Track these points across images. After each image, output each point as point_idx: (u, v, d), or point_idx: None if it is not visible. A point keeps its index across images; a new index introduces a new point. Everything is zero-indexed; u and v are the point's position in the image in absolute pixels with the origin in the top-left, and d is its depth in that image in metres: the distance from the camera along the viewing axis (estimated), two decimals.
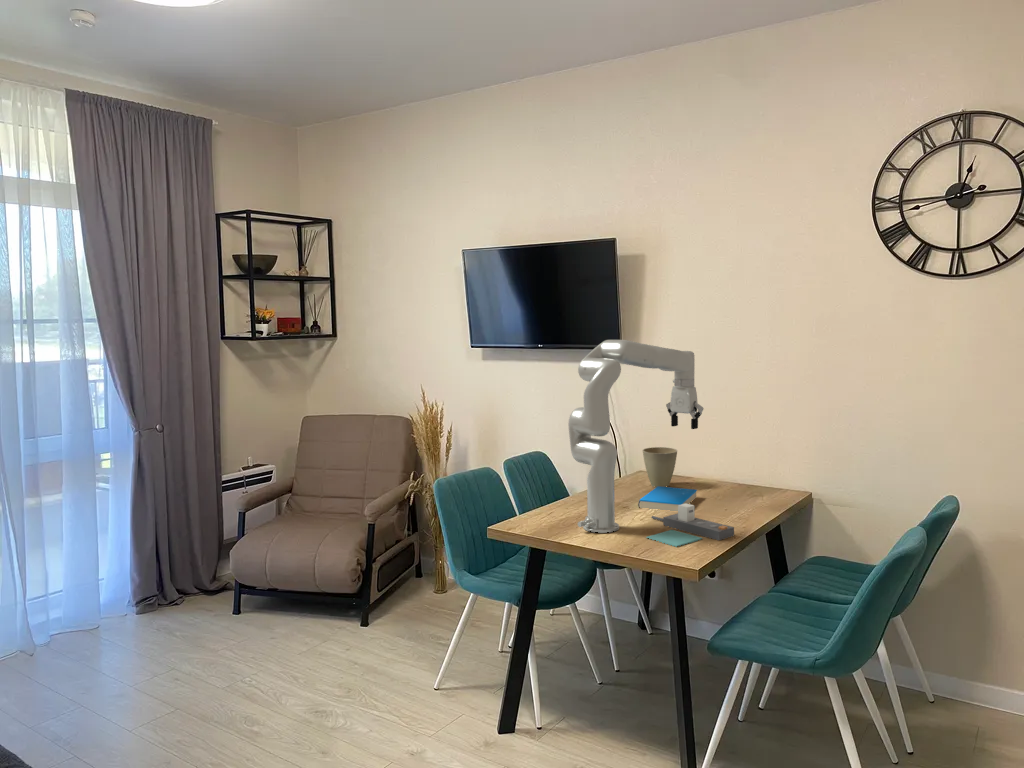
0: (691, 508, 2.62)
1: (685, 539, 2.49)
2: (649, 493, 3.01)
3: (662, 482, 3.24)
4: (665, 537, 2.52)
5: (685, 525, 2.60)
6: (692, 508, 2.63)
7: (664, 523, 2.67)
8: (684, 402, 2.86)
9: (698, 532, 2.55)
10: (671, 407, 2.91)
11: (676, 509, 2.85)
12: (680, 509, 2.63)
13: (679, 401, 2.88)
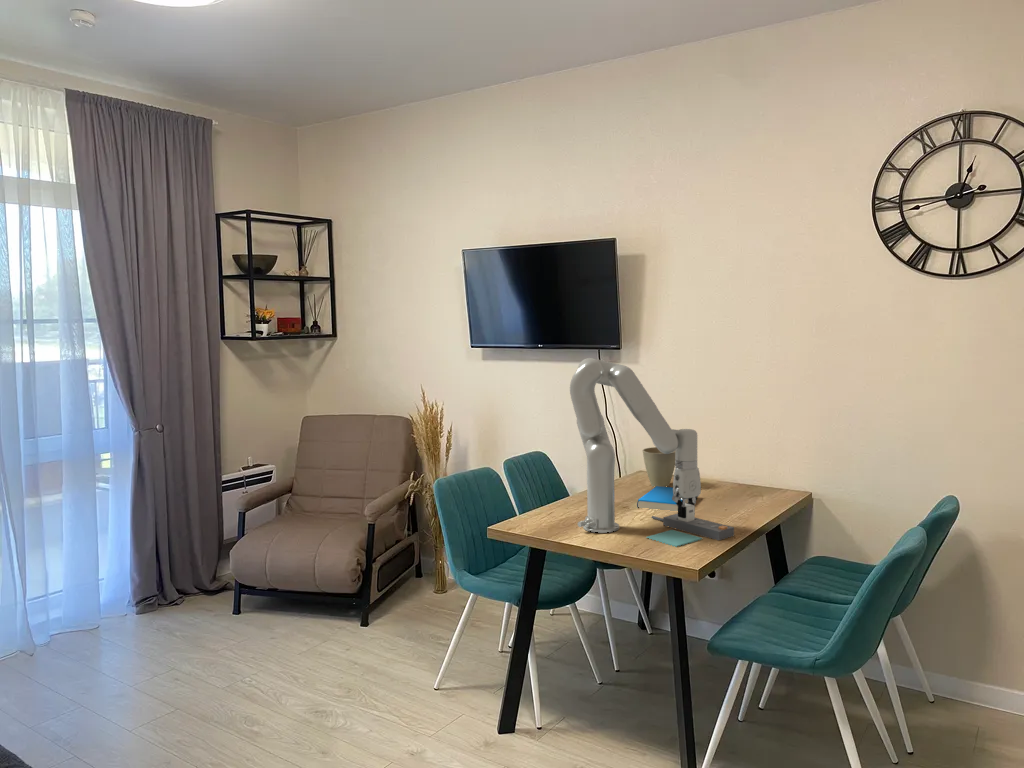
0: (691, 508, 2.62)
1: (685, 539, 2.49)
2: (648, 493, 3.01)
3: (662, 482, 3.24)
4: (665, 537, 2.52)
5: (685, 525, 2.60)
6: (692, 508, 2.63)
7: (664, 523, 2.67)
8: (696, 484, 2.62)
9: (698, 532, 2.55)
10: (684, 494, 2.59)
11: (675, 509, 2.85)
12: None
13: (692, 485, 2.61)
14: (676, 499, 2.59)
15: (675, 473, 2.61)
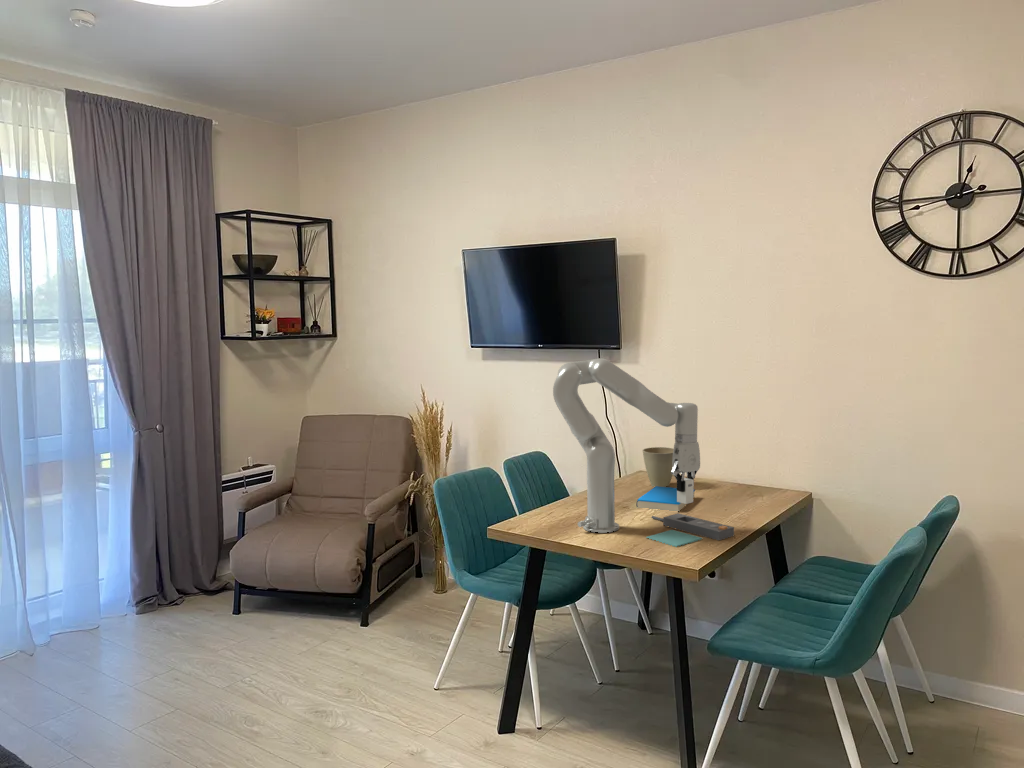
0: (690, 482, 2.62)
1: (685, 539, 2.49)
2: (647, 493, 3.02)
3: (662, 482, 3.24)
4: (665, 537, 2.52)
5: (685, 525, 2.60)
6: (691, 482, 2.62)
7: (664, 523, 2.67)
8: (696, 458, 2.62)
9: (698, 532, 2.55)
10: (683, 468, 2.58)
11: (674, 509, 2.85)
12: None
13: (691, 459, 2.60)
14: (675, 473, 2.59)
15: (675, 447, 2.60)
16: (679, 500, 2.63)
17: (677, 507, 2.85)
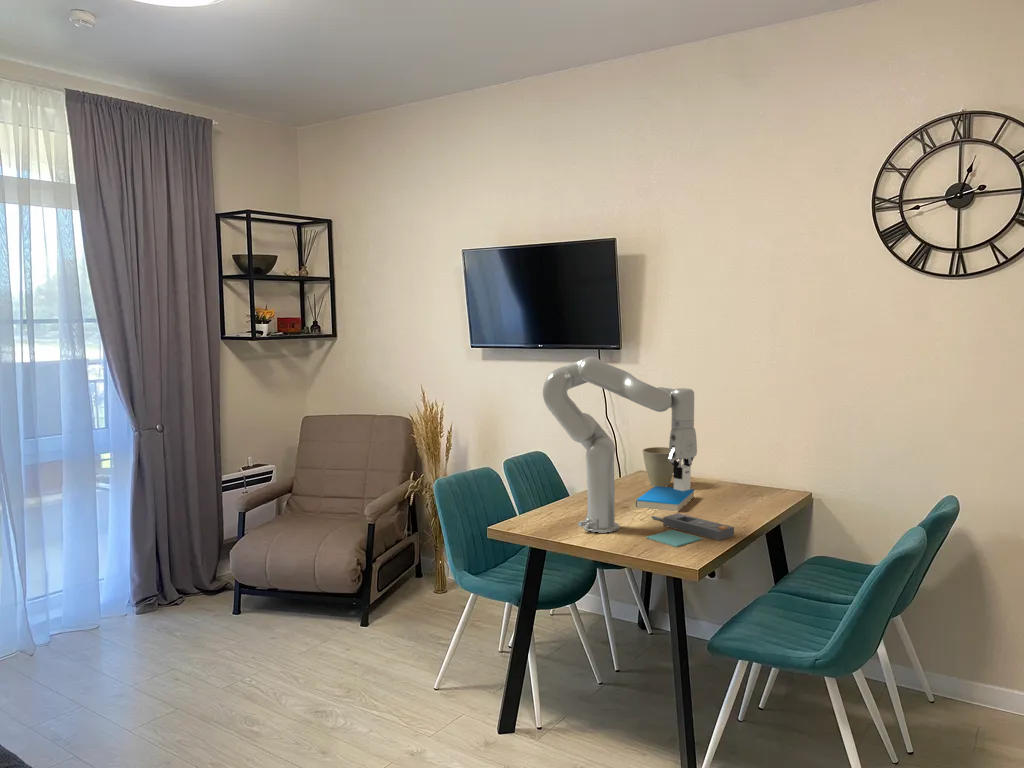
0: (687, 469, 2.57)
1: (685, 539, 2.49)
2: (646, 493, 3.02)
3: (662, 482, 3.24)
4: (665, 537, 2.52)
5: (685, 525, 2.60)
6: (688, 469, 2.58)
7: (664, 523, 2.67)
8: (693, 445, 2.57)
9: (698, 532, 2.55)
10: (681, 454, 2.53)
11: (673, 509, 2.86)
12: None
13: (688, 446, 2.55)
14: (672, 459, 2.54)
15: (671, 433, 2.55)
16: (676, 487, 2.59)
17: (676, 507, 2.85)
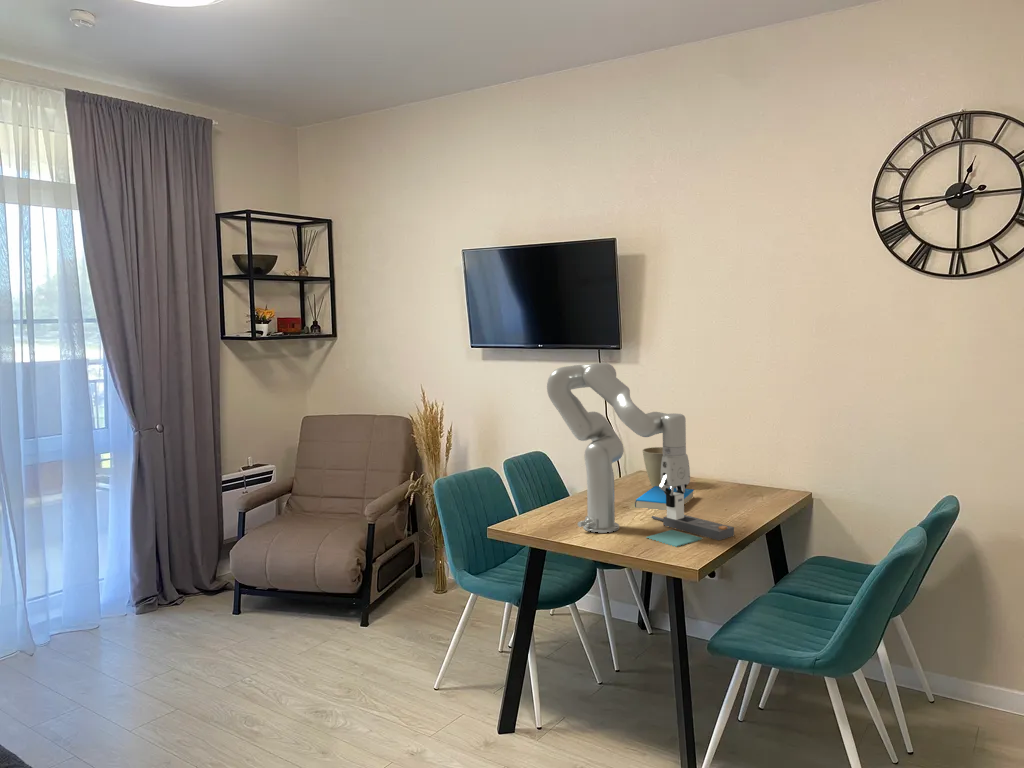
0: (680, 497, 2.49)
1: (685, 539, 2.49)
2: (646, 493, 3.02)
3: None
4: (665, 537, 2.52)
5: (685, 525, 2.60)
6: (681, 497, 2.49)
7: (664, 523, 2.67)
8: (685, 472, 2.49)
9: (698, 532, 2.55)
10: (672, 482, 2.45)
11: None
12: None
13: (681, 473, 2.47)
14: (664, 487, 2.46)
15: (662, 460, 2.47)
16: (669, 516, 2.50)
17: None
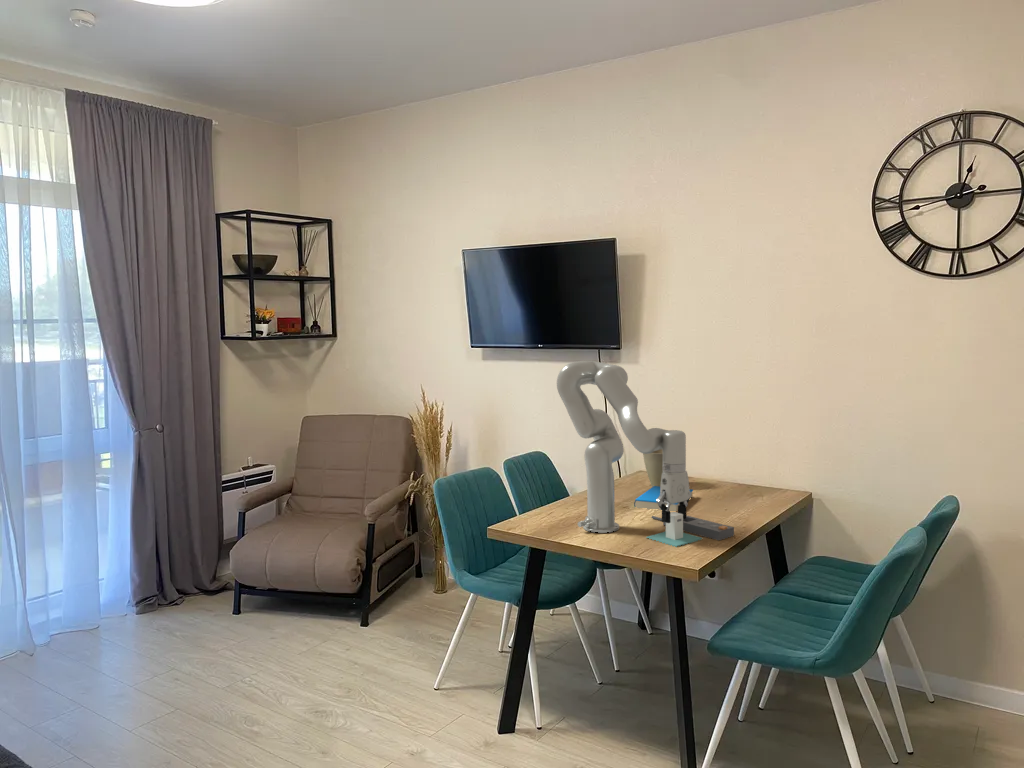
0: (679, 517, 2.49)
1: (685, 539, 2.49)
2: (645, 493, 3.02)
3: None
4: (665, 537, 2.52)
5: (685, 525, 2.60)
6: (680, 517, 2.50)
7: (664, 523, 2.67)
8: (685, 488, 2.49)
9: (698, 532, 2.55)
10: (672, 499, 2.46)
11: (672, 509, 2.86)
12: None
13: (680, 490, 2.48)
14: (660, 502, 2.45)
15: (662, 477, 2.48)
16: (668, 536, 2.51)
17: (675, 507, 2.85)
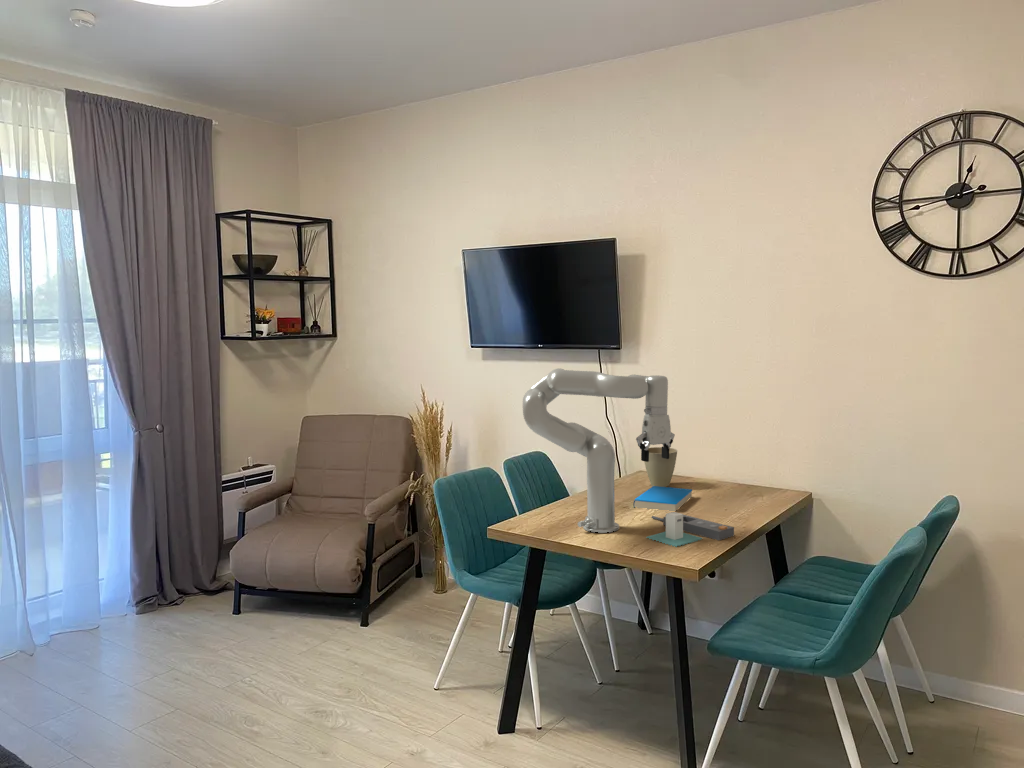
0: (679, 517, 2.49)
1: (685, 539, 2.49)
2: (644, 493, 3.02)
3: (662, 482, 3.24)
4: (665, 537, 2.52)
5: (685, 525, 2.60)
6: (680, 517, 2.50)
7: (664, 523, 2.67)
8: (666, 431, 2.61)
9: (698, 532, 2.55)
10: (652, 440, 2.58)
11: (671, 509, 2.86)
12: (668, 518, 2.50)
13: (661, 432, 2.60)
14: (640, 440, 2.58)
15: (644, 419, 2.60)
16: (668, 536, 2.51)
17: (674, 507, 2.85)
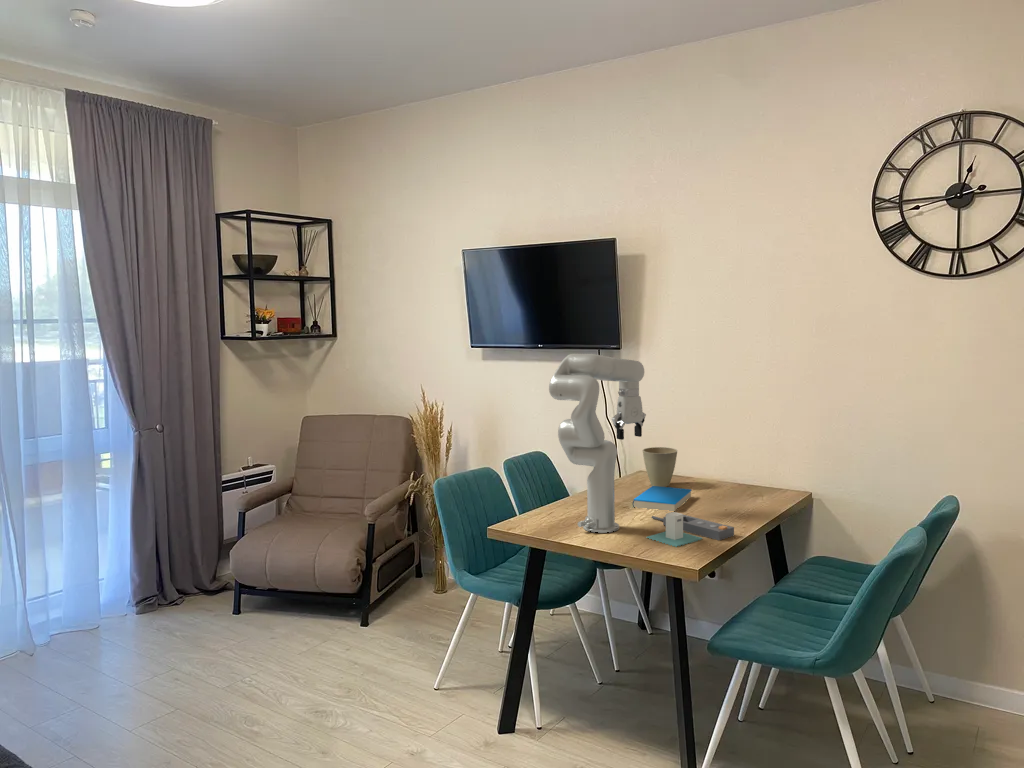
0: (679, 517, 2.49)
1: (685, 539, 2.49)
2: (643, 493, 3.02)
3: (662, 482, 3.24)
4: (665, 537, 2.52)
5: (685, 525, 2.60)
6: (680, 517, 2.50)
7: (664, 523, 2.67)
8: (638, 411, 2.84)
9: (698, 532, 2.55)
10: (626, 419, 2.81)
11: (670, 509, 2.86)
12: (668, 518, 2.50)
13: (634, 412, 2.83)
14: (615, 420, 2.80)
15: (618, 400, 2.83)
16: (668, 536, 2.51)
17: (673, 507, 2.85)
